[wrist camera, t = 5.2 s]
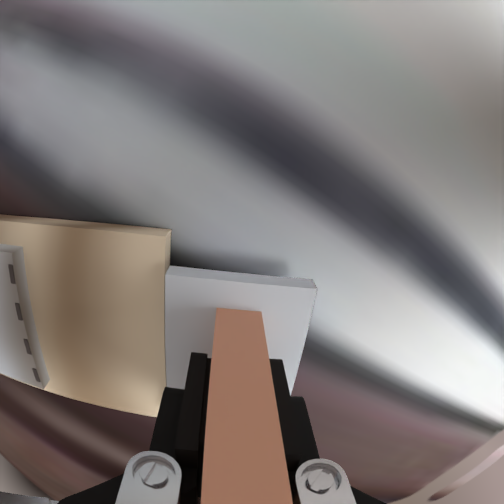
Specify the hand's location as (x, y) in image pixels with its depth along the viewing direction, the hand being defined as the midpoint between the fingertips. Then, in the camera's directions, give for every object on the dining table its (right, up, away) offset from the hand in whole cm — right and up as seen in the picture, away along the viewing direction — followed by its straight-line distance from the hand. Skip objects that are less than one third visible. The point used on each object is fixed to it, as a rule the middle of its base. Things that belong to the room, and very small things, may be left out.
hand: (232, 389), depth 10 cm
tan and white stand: (0, +1, +2) cm, 2 cm away
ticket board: (-13, +2, +2) cm, 13 cm away
